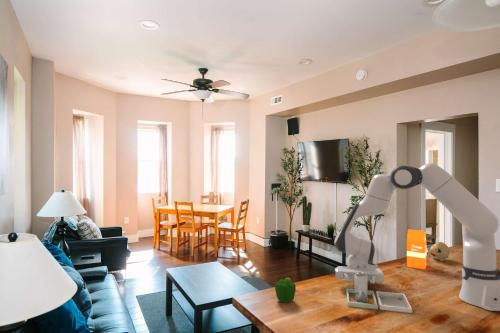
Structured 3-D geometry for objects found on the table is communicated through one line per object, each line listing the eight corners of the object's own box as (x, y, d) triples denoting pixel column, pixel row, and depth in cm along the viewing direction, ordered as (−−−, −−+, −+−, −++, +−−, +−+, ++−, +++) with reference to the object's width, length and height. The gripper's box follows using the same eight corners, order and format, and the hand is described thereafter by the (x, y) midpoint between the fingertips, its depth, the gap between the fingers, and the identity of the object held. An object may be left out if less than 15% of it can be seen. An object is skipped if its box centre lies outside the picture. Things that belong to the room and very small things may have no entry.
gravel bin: (404, 300, 129) (404, 293, 129) (412, 316, 115) (412, 308, 115) (376, 298, 132) (375, 291, 132) (380, 313, 118) (380, 305, 118)
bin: (373, 297, 132) (373, 290, 132) (377, 313, 119) (377, 305, 119) (346, 295, 135) (346, 288, 135) (347, 309, 122) (347, 302, 122)
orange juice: (409, 262, 178) (408, 228, 178) (426, 265, 173) (426, 229, 173) (406, 266, 172) (406, 230, 172) (424, 269, 167) (424, 232, 167)
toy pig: (424, 259, 185) (423, 241, 185) (436, 256, 190) (436, 239, 190) (440, 263, 176) (440, 245, 176) (453, 260, 181) (453, 242, 181)
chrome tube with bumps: (367, 300, 129) (366, 271, 129) (368, 305, 124) (367, 275, 124) (354, 298, 130) (354, 270, 130) (355, 303, 125) (354, 274, 125)
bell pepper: (271, 298, 132) (271, 275, 132) (288, 295, 136) (288, 272, 136) (281, 306, 125) (281, 281, 125) (299, 302, 128) (298, 278, 128)
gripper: (334, 261, 146) (334, 271, 133) (381, 264, 141) (386, 275, 128) (334, 274, 146) (334, 285, 133) (381, 278, 141) (386, 290, 128)
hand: (360, 280), depth 130 cm, fingers open, 8 cm apart
